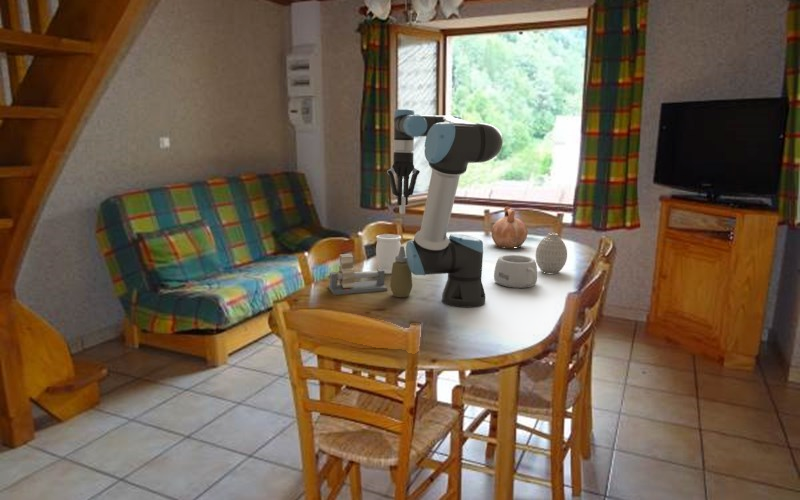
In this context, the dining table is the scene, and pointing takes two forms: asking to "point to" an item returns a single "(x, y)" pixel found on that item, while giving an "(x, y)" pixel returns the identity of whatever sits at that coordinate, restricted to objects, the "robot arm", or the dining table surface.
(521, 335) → the dining table surface
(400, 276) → the squeeze bottle
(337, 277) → the grey slider rail stand
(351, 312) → the dining table surface
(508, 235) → the jug
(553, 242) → the vase
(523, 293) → the dining table surface
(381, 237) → the jar
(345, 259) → the cream wooden block stack
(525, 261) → the mug
